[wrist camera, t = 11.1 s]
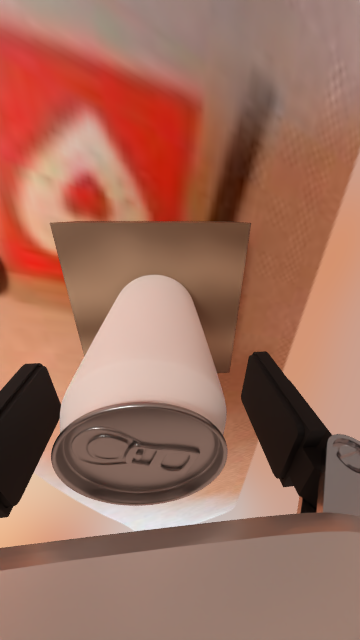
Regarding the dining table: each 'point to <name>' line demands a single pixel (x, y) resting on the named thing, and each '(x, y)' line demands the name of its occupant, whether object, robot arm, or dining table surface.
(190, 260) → the block
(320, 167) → the dining table surface
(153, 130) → the dining table surface
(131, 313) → the can
